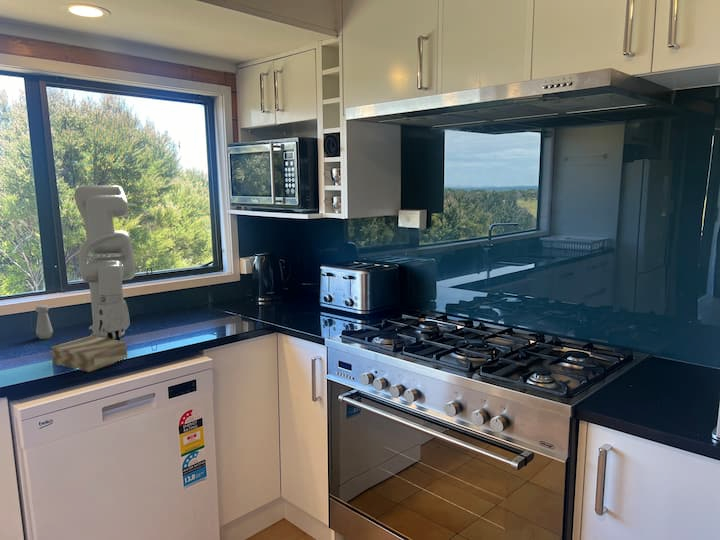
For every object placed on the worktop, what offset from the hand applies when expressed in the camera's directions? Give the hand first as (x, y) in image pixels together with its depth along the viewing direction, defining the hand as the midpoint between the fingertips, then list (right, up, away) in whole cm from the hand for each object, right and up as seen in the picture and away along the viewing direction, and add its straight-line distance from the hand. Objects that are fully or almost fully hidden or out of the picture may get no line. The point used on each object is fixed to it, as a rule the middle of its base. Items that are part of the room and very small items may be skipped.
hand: (115, 348), depth 192 cm
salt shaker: (-37, +1, +20) cm, 42 cm away
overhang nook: (-5, -3, -9) cm, 10 cm away
